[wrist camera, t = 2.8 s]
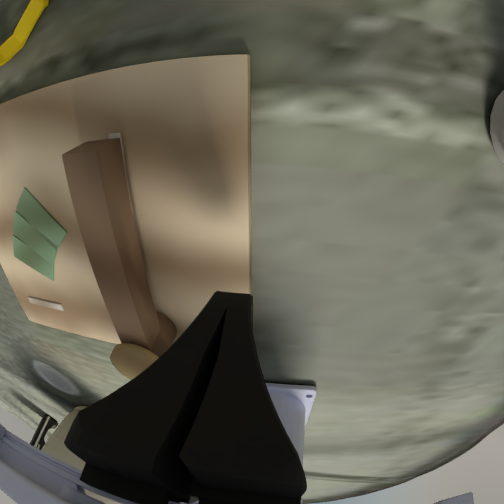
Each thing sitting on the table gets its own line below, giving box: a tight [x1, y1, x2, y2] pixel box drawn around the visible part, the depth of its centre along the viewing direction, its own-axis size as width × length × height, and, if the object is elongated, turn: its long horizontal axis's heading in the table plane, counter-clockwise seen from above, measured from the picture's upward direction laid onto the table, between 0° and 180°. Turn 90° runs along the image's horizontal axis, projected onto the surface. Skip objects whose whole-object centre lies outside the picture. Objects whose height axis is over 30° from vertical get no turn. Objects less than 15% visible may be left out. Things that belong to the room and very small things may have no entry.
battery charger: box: [30, 415, 58, 450], centre depth 39 cm, size 7×4×11 cm, turn 138°
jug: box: [41, 406, 121, 504], centre depth 26 cm, size 15×16×25 cm
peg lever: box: [62, 138, 177, 380], centre depth 15 cm, size 14×3×4 cm, turn 0°
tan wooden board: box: [0, 54, 252, 344], centre depth 16 cm, size 18×20×1 cm
